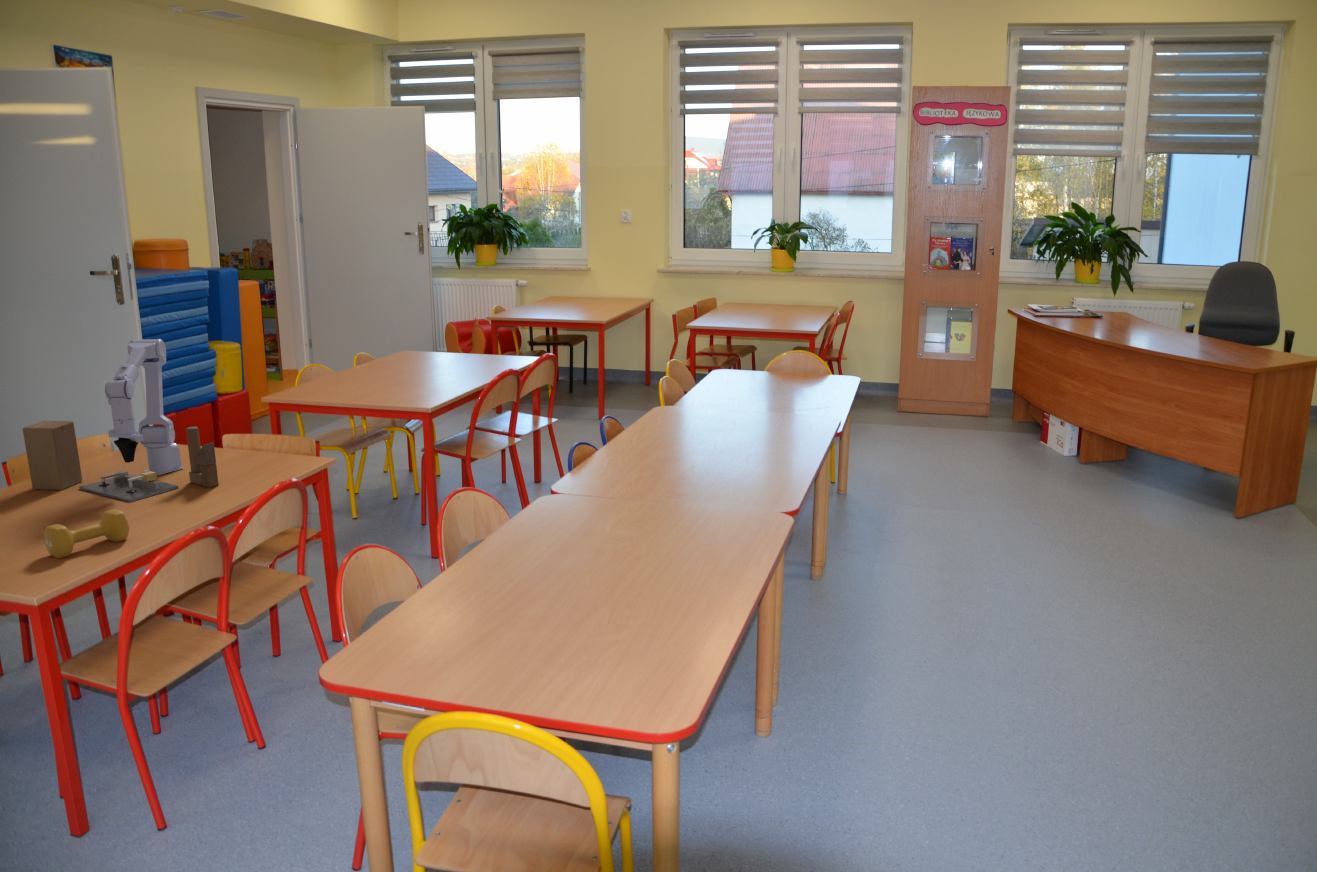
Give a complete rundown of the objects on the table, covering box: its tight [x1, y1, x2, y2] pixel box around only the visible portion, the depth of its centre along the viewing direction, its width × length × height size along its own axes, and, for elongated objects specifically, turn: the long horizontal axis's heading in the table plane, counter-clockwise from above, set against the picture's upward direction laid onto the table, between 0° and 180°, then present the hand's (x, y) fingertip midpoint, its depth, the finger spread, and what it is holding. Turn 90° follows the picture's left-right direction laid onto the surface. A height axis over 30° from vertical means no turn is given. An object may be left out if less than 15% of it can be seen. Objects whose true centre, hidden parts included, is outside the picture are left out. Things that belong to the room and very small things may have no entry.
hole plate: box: [78, 470, 179, 503], centre depth 303 cm, size 16×26×4 cm, turn 60°
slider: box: [128, 471, 158, 491], centre depth 300 cm, size 8×3×4 cm, turn 150°
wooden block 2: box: [185, 426, 220, 489], centre depth 306 cm, size 4×11×18 cm, turn 55°
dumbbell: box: [43, 508, 130, 559], centre depth 253 cm, size 19×9×8 cm, turn 145°
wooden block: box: [22, 420, 83, 491], centre depth 304 cm, size 10×10×20 cm
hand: (129, 461), depth 297 cm, fingers closed
